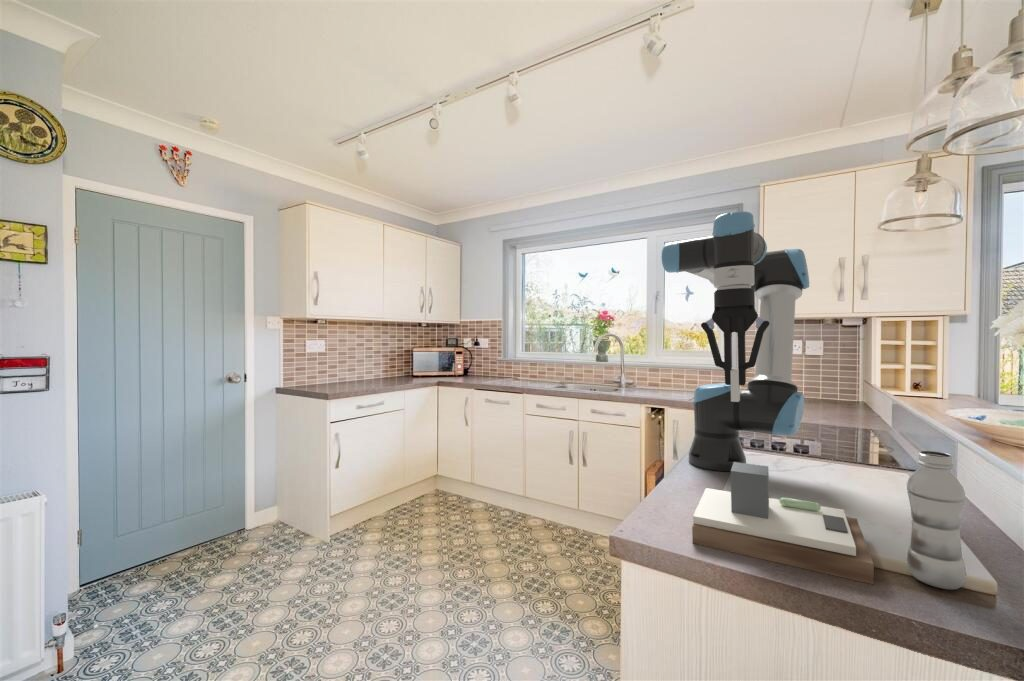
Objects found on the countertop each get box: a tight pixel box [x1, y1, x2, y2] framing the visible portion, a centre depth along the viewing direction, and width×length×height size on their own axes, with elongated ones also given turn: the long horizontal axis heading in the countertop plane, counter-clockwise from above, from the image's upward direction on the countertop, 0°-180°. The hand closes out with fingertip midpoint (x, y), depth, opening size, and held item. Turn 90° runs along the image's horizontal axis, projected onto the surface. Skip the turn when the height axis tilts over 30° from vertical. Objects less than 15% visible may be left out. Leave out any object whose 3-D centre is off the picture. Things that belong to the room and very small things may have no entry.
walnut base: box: [691, 516, 875, 585], centre depth 80 cm, size 18×26×3 cm
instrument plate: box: [692, 462, 856, 556], centre depth 80 cm, size 16×24×9 cm, turn 58°
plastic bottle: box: [906, 450, 967, 591], centre depth 65 cm, size 6×7×20 cm
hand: (735, 400), depth 90 cm, fingers closed
